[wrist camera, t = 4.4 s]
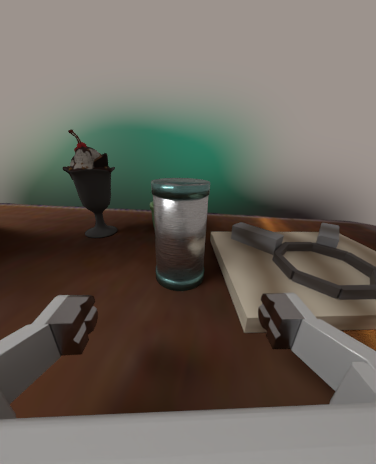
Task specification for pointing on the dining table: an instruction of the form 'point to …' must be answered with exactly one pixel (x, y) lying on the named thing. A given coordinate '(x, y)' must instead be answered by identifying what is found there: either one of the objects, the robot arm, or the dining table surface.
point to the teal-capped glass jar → (180, 231)
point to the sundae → (92, 185)
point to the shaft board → (299, 273)
